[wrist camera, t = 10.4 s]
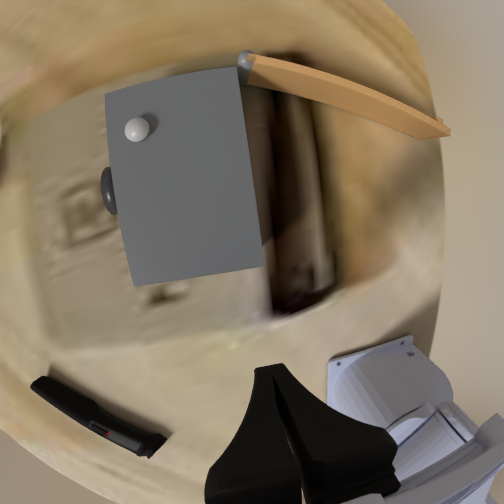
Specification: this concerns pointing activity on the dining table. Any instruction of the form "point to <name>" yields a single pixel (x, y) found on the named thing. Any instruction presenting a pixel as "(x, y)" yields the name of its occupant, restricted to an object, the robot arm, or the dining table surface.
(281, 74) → the side door
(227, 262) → the camera body
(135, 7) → the dining table surface
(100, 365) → the dining table surface
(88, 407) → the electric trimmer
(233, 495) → the robot arm
